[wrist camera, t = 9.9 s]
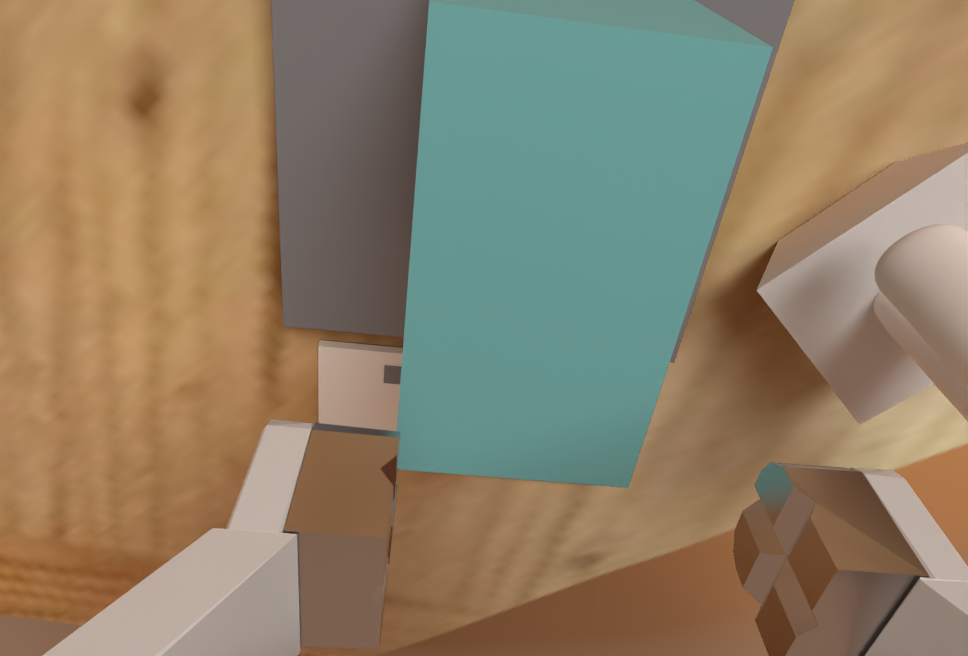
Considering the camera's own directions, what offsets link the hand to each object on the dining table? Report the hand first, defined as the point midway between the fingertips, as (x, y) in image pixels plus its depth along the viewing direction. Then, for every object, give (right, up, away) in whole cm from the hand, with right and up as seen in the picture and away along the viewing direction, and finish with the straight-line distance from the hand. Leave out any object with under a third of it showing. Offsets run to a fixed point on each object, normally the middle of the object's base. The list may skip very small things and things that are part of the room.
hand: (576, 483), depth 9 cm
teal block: (0, +5, +8) cm, 10 cm away
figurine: (+12, +5, +16) cm, 21 cm away
